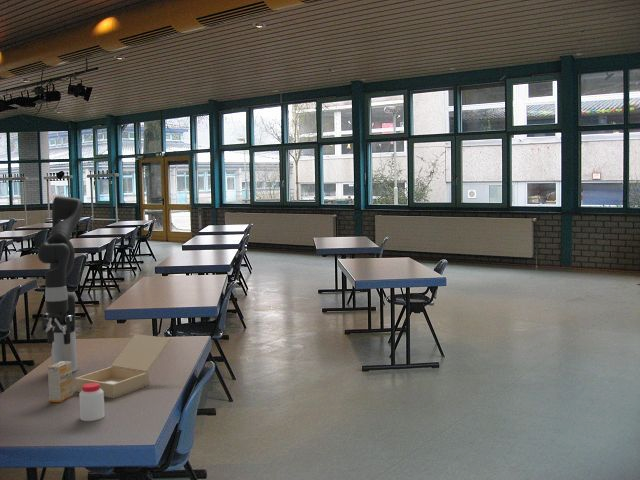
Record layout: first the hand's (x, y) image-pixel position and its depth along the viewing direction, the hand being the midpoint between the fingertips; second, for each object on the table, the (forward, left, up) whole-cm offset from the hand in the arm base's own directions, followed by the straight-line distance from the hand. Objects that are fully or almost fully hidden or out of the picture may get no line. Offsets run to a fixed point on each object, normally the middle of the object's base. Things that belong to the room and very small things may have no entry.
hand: (58, 343), depth 243 cm
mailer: (+7, +18, -21) cm, 28 cm away
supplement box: (0, 0, -21) cm, 21 cm away
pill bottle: (+26, -9, -21) cm, 34 cm away
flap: (+7, +34, -10) cm, 36 cm away
